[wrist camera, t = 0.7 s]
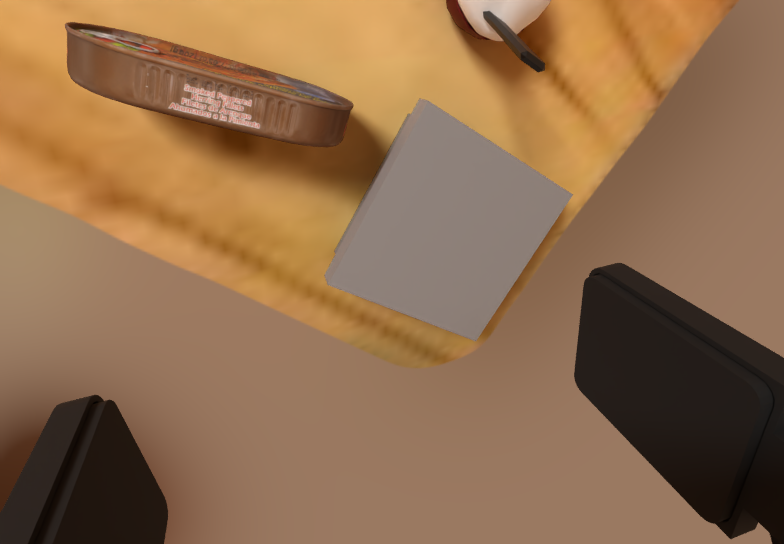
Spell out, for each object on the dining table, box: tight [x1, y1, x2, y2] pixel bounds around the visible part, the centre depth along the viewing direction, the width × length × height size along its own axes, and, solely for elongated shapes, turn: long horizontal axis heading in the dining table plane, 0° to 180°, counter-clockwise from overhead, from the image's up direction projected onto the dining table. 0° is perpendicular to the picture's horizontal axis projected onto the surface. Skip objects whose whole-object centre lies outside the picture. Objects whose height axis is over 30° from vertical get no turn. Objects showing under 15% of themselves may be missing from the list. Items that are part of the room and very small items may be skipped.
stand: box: [324, 99, 573, 341], centre depth 36 cm, size 14×14×5 cm
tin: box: [65, 22, 353, 147], centre depth 27 cm, size 15×3×8 cm, turn 73°
